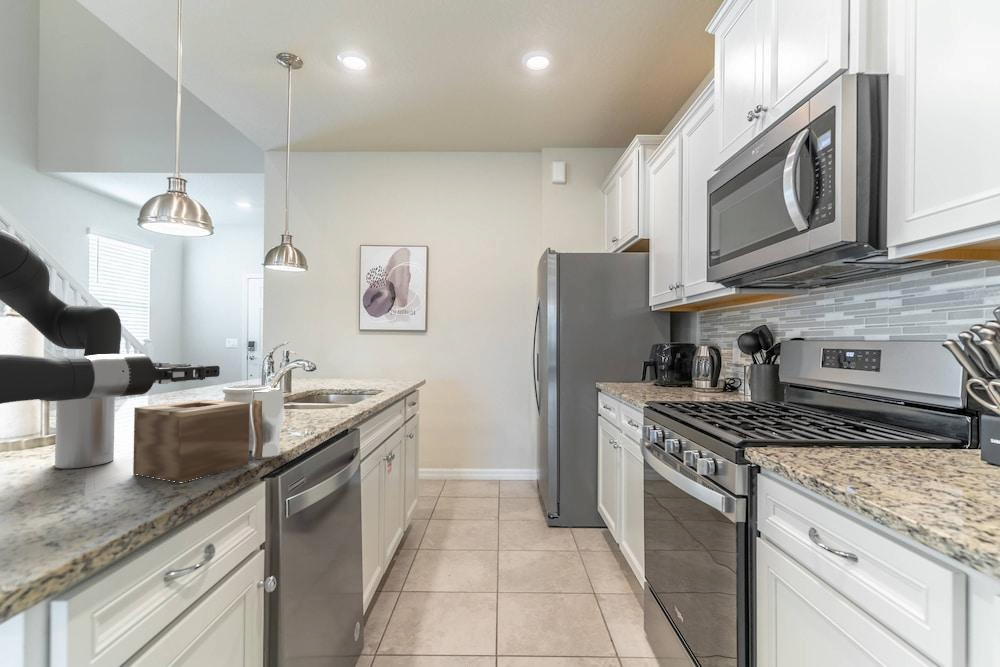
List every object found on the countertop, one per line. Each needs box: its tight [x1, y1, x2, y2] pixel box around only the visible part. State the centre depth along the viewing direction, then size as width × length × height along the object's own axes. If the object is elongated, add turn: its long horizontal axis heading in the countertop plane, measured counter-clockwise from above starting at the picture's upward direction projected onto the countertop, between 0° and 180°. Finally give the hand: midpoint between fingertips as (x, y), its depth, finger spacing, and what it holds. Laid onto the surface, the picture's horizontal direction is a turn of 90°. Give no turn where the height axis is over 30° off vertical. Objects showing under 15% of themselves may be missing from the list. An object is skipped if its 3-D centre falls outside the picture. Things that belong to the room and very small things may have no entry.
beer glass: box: [250, 387, 285, 460], centre depth 105 cm, size 7×7×15 cm
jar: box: [222, 384, 272, 452], centre depth 112 cm, size 11×10×15 cm
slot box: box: [132, 398, 250, 482], centre depth 94 cm, size 14×14×13 cm
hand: (204, 370), depth 95 cm, fingers open, 8 cm apart
